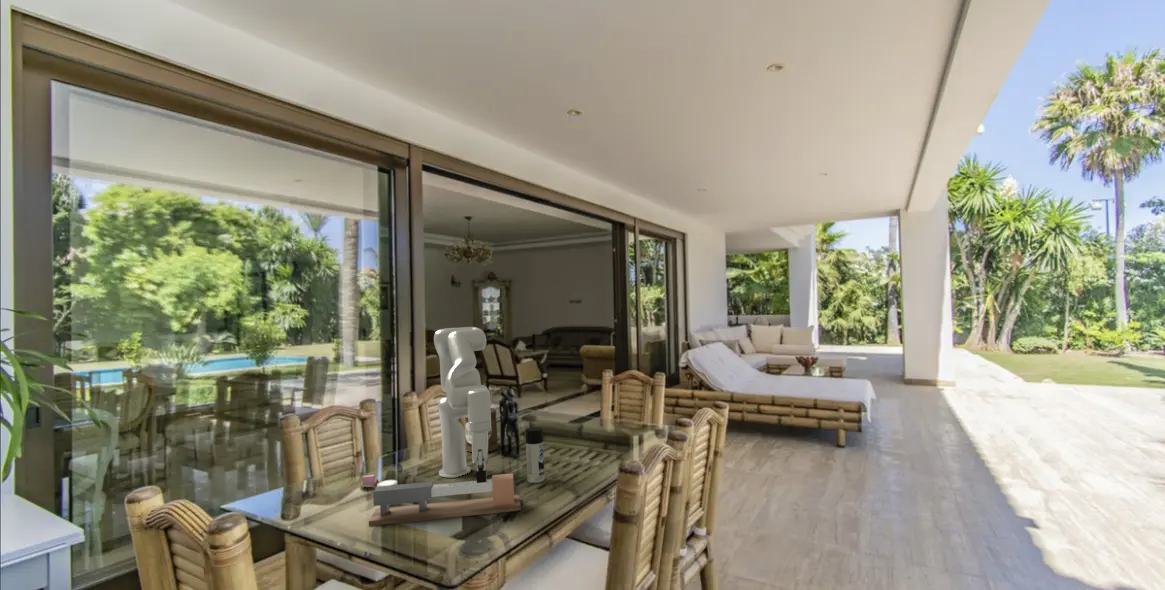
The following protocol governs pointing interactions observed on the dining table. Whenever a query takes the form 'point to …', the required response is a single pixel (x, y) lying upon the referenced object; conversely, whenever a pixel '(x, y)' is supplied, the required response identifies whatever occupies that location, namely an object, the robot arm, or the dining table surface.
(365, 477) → the perfume bottle
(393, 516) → the base board
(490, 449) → the wooden container
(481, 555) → the dining table surface
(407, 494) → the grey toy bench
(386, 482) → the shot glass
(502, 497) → the socket
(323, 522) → the dining table surface
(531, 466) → the spray can
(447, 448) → the robot arm
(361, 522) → the dining table surface
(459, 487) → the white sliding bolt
